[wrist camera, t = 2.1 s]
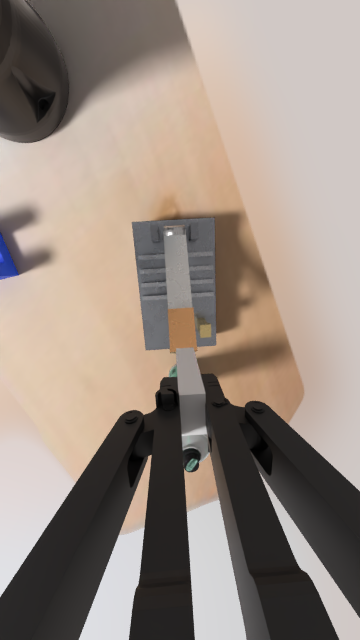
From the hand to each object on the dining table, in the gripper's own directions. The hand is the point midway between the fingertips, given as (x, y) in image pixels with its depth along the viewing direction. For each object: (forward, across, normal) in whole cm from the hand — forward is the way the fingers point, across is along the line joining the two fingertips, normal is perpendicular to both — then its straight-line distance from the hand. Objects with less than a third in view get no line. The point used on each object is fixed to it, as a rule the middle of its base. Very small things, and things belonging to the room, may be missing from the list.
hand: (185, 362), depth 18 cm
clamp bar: (+12, 0, +5) cm, 13 cm away
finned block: (+22, 0, +4) cm, 22 cm away
